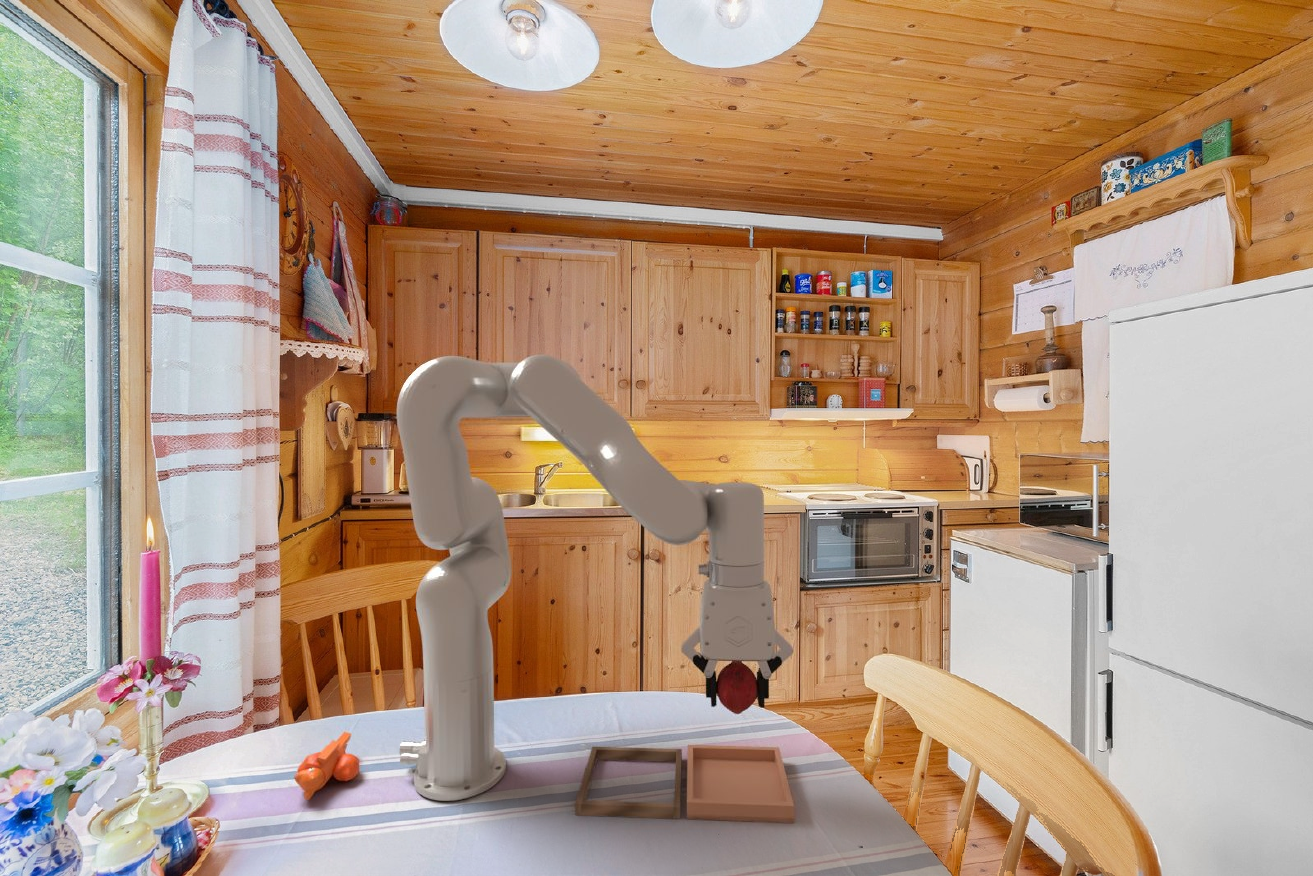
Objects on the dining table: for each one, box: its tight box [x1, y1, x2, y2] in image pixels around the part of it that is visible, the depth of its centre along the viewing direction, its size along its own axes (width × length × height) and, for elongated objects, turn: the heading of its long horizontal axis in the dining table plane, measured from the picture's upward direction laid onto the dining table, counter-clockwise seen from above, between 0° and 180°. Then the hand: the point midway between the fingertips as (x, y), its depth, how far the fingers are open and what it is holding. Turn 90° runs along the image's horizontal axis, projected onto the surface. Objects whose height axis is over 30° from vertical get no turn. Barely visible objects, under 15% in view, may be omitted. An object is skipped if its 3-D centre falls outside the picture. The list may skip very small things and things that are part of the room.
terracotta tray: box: [686, 744, 795, 824], centre depth 84 cm, size 14×14×2 cm
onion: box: [716, 661, 758, 715], centre depth 83 cm, size 6×6×8 cm
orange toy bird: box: [294, 731, 360, 801], centre depth 86 cm, size 5×8×12 cm
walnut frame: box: [574, 745, 683, 820], centre depth 85 cm, size 14×14×2 cm
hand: (737, 701), depth 84 cm, fingers closed on onion, 5 cm apart
